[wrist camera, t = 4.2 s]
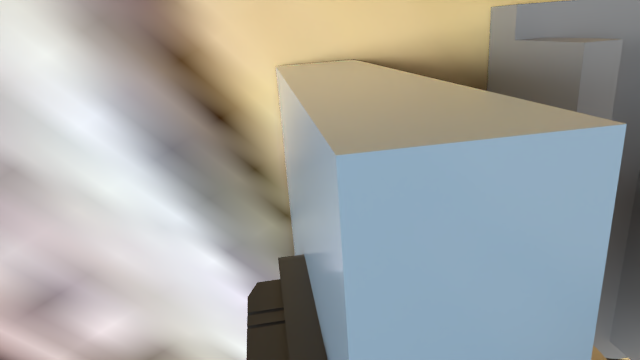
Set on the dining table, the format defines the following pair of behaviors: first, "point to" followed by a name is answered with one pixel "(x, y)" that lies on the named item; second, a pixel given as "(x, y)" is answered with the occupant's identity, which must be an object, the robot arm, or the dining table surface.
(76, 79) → the dining table surface
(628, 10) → the dish rack
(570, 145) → the rectangular block
